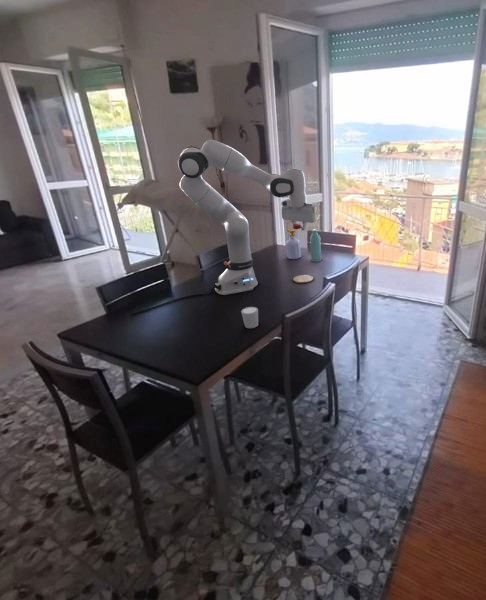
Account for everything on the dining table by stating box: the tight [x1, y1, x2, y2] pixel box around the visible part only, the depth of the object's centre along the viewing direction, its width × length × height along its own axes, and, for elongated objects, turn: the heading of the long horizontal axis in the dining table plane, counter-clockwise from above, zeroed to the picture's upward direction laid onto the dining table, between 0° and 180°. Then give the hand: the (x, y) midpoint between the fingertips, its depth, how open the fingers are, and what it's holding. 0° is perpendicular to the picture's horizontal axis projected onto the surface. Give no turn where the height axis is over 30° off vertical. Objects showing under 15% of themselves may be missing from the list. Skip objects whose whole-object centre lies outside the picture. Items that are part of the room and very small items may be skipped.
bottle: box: [309, 228, 322, 263], centre depth 222 cm, size 6×6×20 cm
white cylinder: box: [240, 306, 259, 329], centre depth 148 cm, size 7×7×7 cm
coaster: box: [292, 274, 314, 284], centre depth 195 cm, size 11×11×1 cm
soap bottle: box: [285, 220, 302, 260], centre depth 227 cm, size 9×9×25 cm
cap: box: [292, 223, 303, 230], centre depth 181 cm, size 4×4×2 cm
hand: (299, 229), depth 184 cm, fingers closed on cap, 3 cm apart
